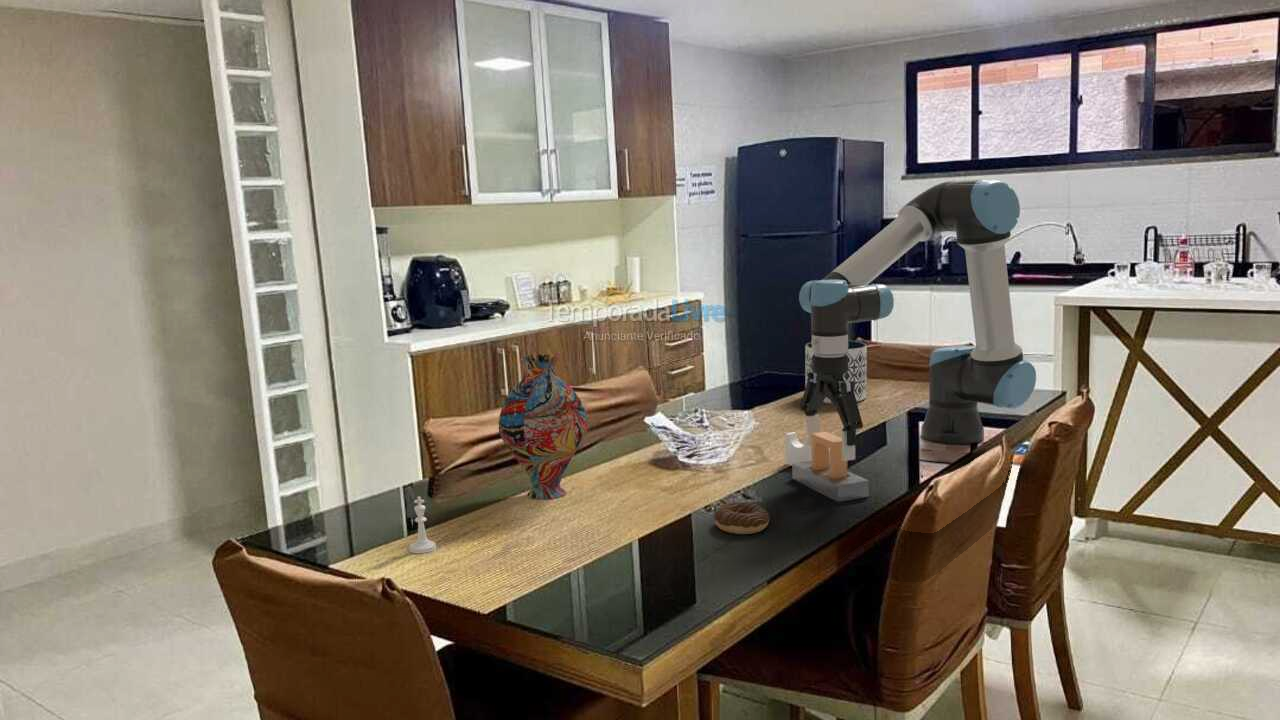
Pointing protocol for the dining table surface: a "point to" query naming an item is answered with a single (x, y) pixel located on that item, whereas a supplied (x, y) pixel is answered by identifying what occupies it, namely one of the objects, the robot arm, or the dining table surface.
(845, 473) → the clip
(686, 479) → the dining table surface
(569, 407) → the vase
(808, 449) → the bracket
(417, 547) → the chess piece
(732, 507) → the donut
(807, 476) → the grey slotted block
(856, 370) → the planter
